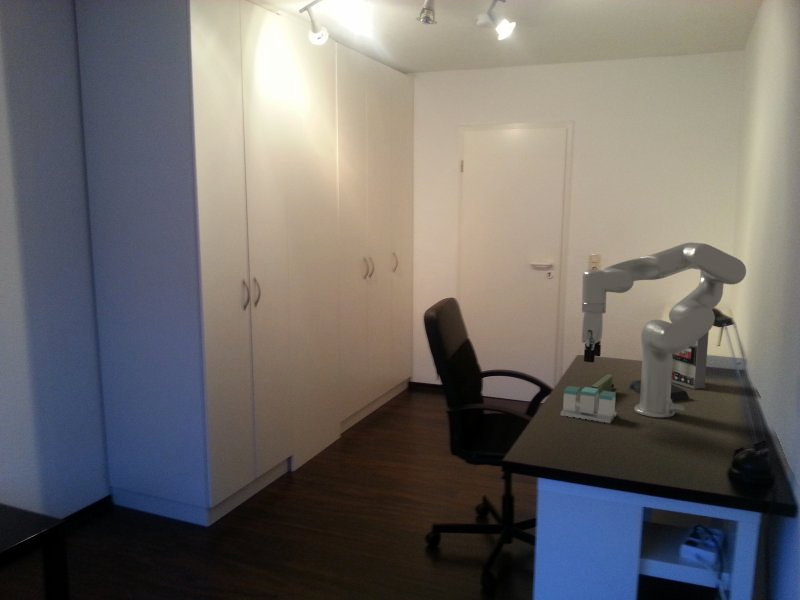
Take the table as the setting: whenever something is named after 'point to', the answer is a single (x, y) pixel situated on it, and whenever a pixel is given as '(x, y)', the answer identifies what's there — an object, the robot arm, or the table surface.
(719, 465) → the table surface
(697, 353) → the grey printed box
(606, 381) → the handheld radio
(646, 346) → the robot arm
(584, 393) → the block
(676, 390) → the external hard drive
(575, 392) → the rail plate
